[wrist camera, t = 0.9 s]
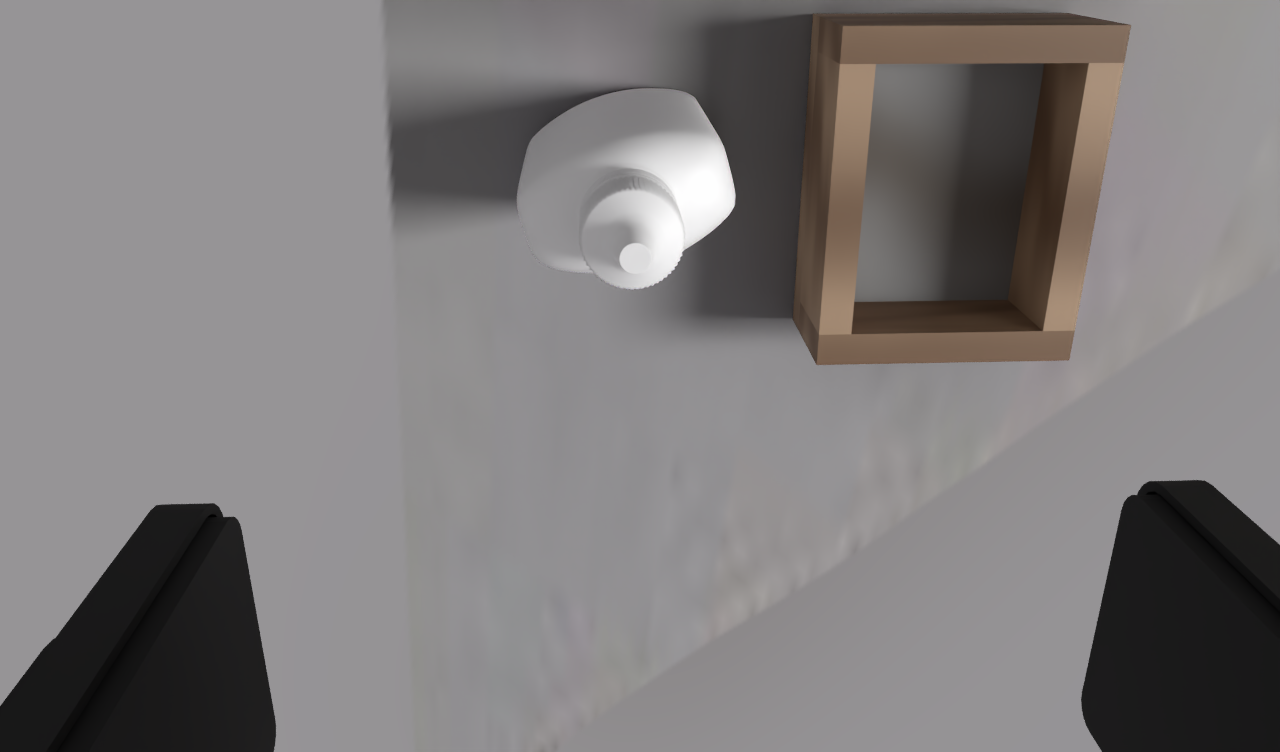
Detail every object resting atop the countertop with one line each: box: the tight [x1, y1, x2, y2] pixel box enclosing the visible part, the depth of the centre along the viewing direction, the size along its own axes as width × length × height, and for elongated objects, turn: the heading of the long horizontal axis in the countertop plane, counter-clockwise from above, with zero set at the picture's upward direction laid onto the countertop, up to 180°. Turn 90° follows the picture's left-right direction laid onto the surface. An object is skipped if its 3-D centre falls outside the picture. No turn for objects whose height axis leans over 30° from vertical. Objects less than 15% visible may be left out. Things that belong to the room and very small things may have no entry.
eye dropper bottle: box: [517, 88, 736, 290], centre depth 27 cm, size 4×6×12 cm
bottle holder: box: [793, 13, 1131, 365], centre depth 32 cm, size 10×8×4 cm
